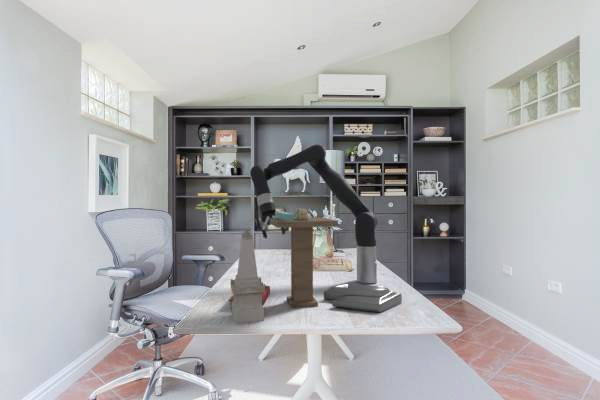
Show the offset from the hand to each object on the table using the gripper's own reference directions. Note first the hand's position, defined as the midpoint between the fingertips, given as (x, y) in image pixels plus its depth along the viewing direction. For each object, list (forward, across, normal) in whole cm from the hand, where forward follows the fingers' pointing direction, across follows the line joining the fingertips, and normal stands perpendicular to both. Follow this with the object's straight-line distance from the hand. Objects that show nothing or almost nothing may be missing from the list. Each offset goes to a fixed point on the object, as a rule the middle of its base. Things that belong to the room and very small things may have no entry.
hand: (275, 236), depth 161 cm
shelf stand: (+33, +2, +19) cm, 39 cm away
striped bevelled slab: (+40, -20, +23) cm, 51 cm away
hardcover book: (+27, +20, +12) cm, 36 cm away
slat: (+1, +2, +26) cm, 26 cm away
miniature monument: (+34, +24, +28) cm, 50 cm away
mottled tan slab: (+14, -35, -40) cm, 55 cm away
